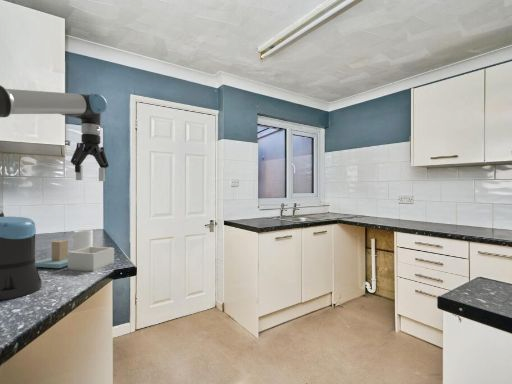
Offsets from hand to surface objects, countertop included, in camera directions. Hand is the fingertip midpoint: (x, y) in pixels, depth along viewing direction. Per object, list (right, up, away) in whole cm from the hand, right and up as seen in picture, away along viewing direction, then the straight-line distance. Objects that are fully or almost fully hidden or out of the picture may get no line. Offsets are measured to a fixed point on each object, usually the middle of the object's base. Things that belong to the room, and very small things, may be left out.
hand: (91, 180), depth 128 cm
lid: (-9, -36, -8) cm, 38 cm away
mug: (-12, -37, +11) cm, 40 cm away
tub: (+6, -37, -10) cm, 39 cm away
